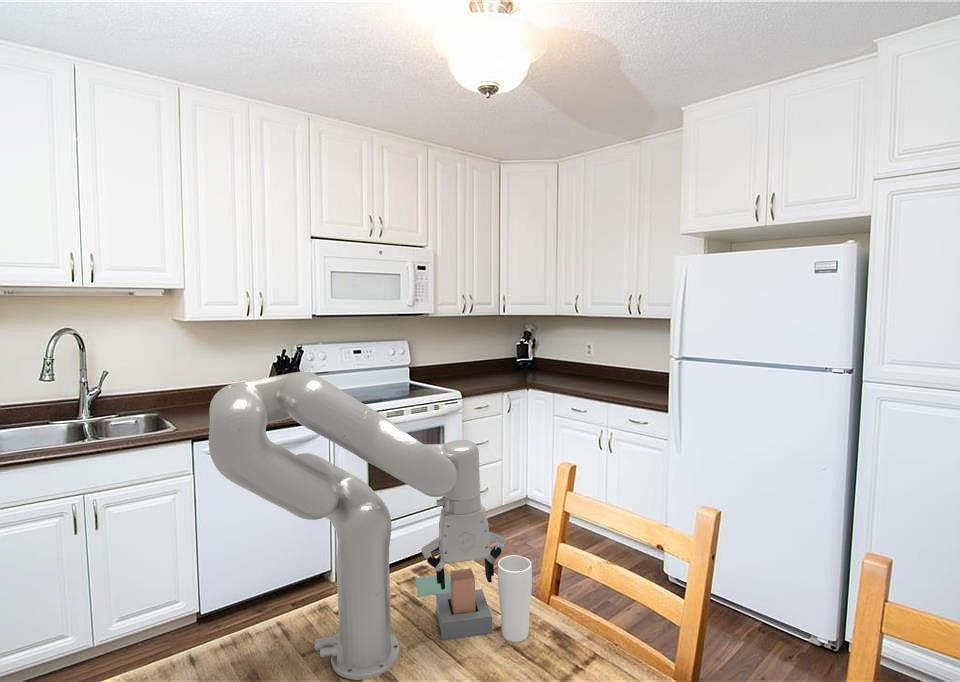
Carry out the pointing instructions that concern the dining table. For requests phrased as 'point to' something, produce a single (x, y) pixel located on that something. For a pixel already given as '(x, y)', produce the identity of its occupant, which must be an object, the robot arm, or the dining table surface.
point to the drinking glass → (515, 596)
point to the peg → (462, 591)
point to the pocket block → (463, 618)
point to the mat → (431, 586)
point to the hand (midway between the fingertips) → (465, 582)
